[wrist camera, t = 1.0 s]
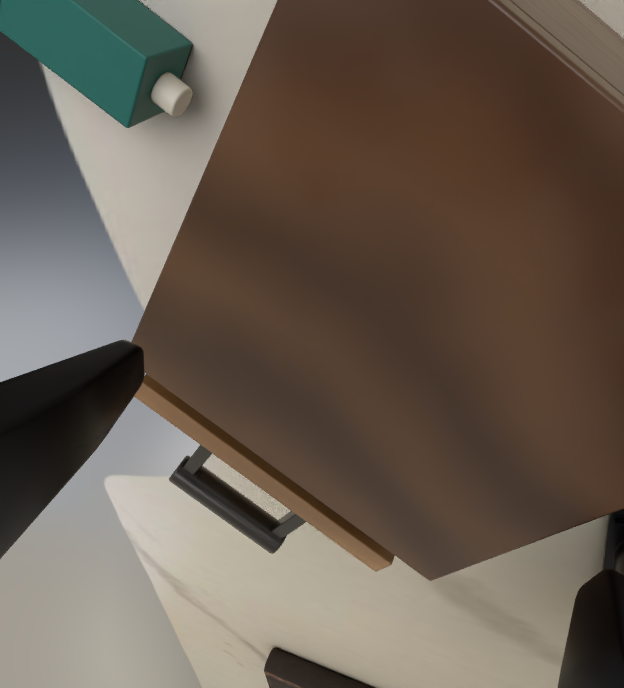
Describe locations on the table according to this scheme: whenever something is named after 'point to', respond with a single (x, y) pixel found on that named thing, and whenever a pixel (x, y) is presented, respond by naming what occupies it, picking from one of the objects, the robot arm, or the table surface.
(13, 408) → the robot arm
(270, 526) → the drawer
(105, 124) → the table surface
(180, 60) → the teal square bottle
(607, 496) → the cabinet
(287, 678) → the hardcover book
